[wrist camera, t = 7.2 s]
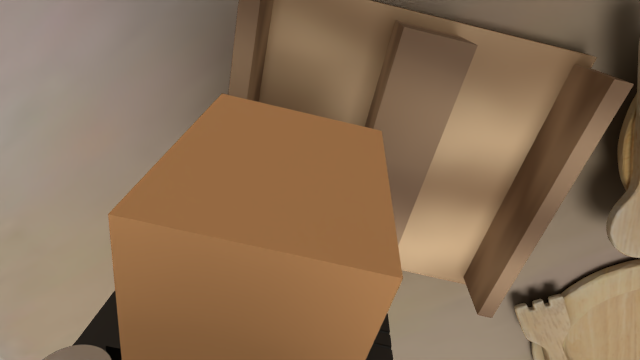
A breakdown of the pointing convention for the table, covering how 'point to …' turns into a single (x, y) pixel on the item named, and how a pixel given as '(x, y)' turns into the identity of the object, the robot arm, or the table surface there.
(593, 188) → the table surface
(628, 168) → the tableware set
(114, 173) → the table surface
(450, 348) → the table surface
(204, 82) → the table surface
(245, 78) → the brown wooden divided tray
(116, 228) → the orange white rectangular block
